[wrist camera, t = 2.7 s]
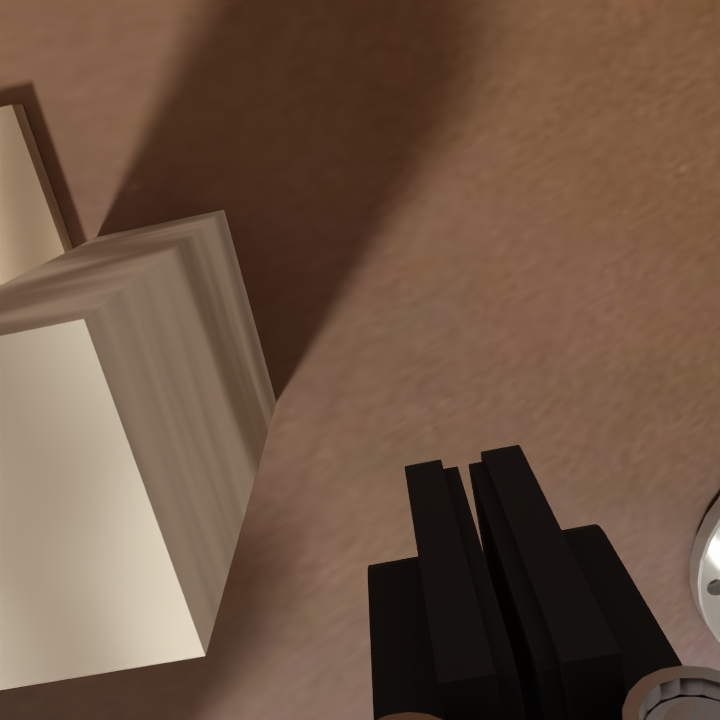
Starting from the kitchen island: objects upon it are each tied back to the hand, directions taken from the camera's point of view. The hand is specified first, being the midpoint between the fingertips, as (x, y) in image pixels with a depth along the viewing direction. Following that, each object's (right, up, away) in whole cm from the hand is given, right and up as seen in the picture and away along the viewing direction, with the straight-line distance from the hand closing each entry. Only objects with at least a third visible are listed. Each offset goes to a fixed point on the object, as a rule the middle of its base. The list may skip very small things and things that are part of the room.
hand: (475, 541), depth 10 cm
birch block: (-8, +4, +17) cm, 20 cm away
